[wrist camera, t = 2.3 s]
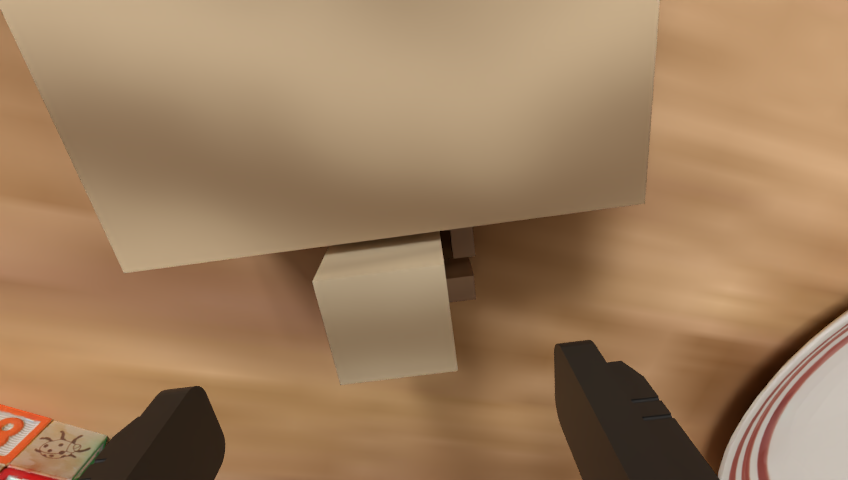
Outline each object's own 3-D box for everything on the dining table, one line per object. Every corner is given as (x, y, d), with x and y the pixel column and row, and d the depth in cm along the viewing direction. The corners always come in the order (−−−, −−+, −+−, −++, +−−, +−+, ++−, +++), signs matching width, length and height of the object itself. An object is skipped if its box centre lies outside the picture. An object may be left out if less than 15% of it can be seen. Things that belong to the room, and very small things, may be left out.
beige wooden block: (355, 190, 19) (311, 281, 11) (432, 180, 19) (443, 264, 11) (369, 260, 20) (340, 385, 12) (441, 250, 20) (458, 370, 12)
